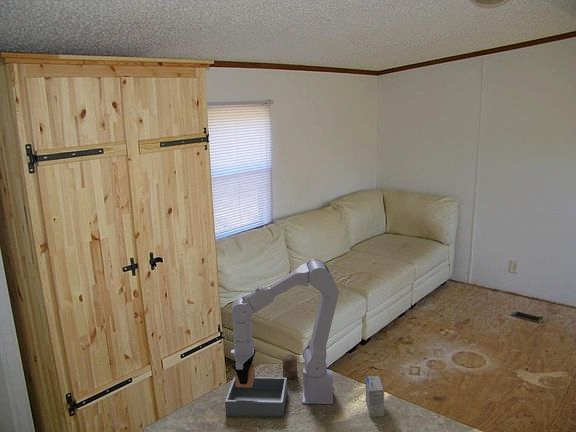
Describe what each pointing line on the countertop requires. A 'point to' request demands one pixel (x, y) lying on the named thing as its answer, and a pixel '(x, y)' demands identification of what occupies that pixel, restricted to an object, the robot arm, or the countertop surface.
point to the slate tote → (258, 398)
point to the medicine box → (374, 396)
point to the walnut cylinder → (289, 367)
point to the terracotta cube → (250, 378)
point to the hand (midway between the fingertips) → (245, 378)
